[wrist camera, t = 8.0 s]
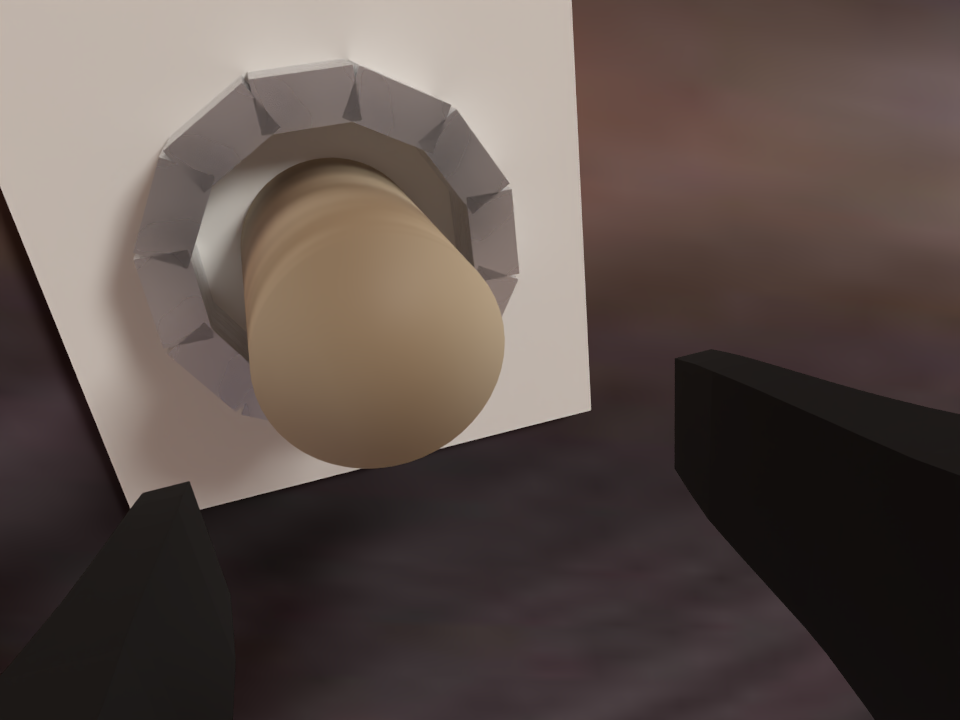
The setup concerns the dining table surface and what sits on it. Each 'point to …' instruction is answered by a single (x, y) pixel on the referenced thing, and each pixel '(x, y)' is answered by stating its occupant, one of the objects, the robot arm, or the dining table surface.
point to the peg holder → (250, 166)
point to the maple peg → (362, 318)
